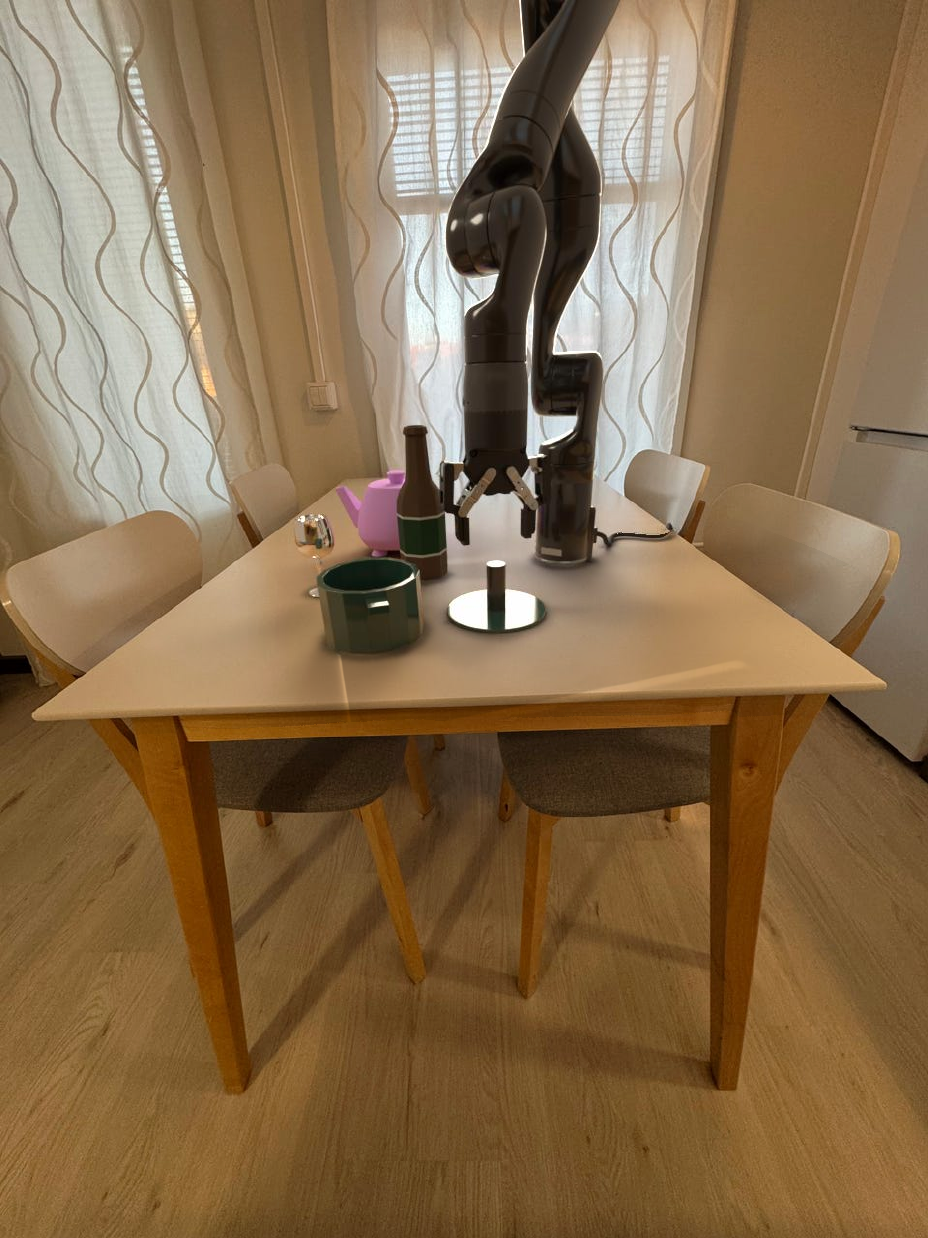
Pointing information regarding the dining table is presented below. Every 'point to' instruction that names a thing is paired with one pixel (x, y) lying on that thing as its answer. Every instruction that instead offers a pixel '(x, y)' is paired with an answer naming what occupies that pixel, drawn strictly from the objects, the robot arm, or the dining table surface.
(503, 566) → the lid
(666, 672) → the dining table surface
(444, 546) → the beer bottle
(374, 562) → the pot
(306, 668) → the dining table surface
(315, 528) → the wineglass
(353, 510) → the teapot
